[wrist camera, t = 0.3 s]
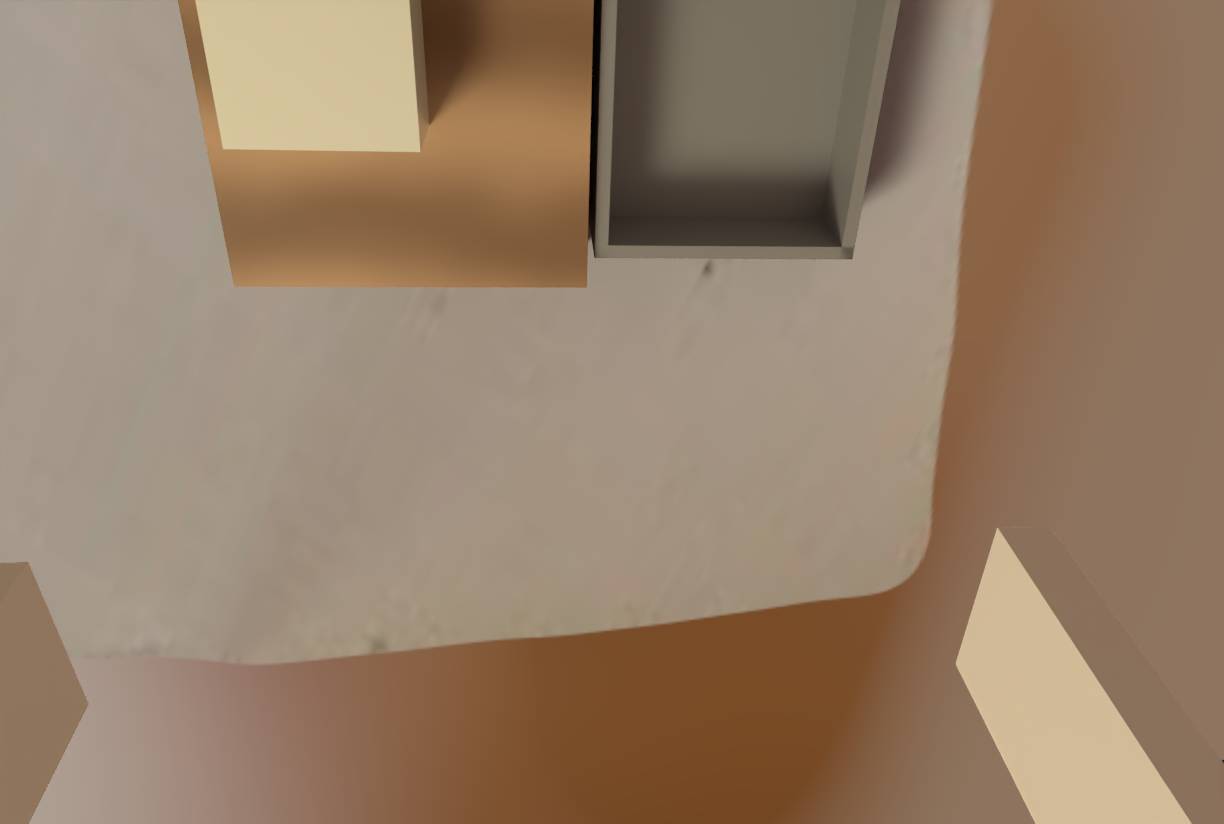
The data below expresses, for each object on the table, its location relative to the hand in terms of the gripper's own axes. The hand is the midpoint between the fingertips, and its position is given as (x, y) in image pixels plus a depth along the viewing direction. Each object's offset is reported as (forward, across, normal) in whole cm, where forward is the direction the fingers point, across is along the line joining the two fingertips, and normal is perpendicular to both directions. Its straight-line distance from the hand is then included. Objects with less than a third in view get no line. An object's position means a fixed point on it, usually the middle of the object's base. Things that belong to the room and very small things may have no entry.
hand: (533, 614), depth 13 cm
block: (+23, -6, +4) cm, 24 cm away
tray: (+27, +7, +3) cm, 28 cm away
